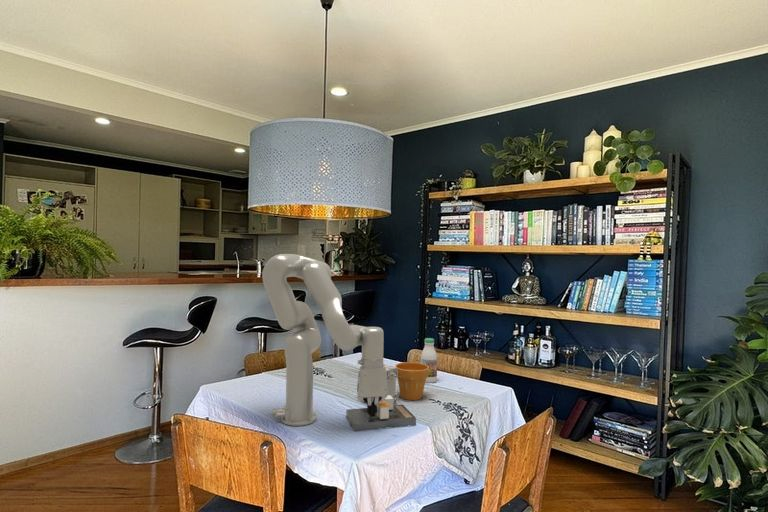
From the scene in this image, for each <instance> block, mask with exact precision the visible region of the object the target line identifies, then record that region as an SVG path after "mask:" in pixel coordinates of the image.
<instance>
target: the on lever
mask: <svg viewBox="0 0 768 512" xmlns="http://www.w3.org/2000/svg"><path fill="white" fill-rule="evenodd" d="M384 401H386V402H387V403H388V405H389V410H392V409H393V398H392V396H391V395H387V398H384V399H383V401H382V402H384Z"/></svg>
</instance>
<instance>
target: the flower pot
mask: <svg viewBox="0 0 768 512" xmlns="http://www.w3.org/2000/svg"><path fill="white" fill-rule="evenodd" d="M394 367H397V371H398V378H397V384H398V388H399V395H400V397H401V398H402V399H403V400H406V401H407V400H408V401H418V400H420V399H422V398H423V394H424V389H425V385H426V378H427V377H428V375H429V366H427V365H426V364H422V363H421V362H416V361H408V362H407V361H403V362H399V363H397V364H395V365H394ZM395 376H396V374H395Z"/></svg>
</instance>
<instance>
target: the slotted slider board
mask: <svg viewBox="0 0 768 512" xmlns="http://www.w3.org/2000/svg"><path fill="white" fill-rule="evenodd" d="M345 412H346V413H345V414H346V415H345V416H346V419H347V420H348V422H349V424H350V426H351V428H352V429H353V431H354V432H363V431H371V430H372V429H373V430H380V429H379V428H383V429H387V428H386V427H393V428H396V427H395V426H402V427H409V426H408V425H412V426H417V418H416V416H415V415H414V414H413V413H412V412H411V411H410V410H409V409H408V408H407V407H406V406H405V405H404V404H397V405H394V406H393V409H392V410H389V418H388V419H380V418H379V417H378V415H377V413H375V417H370V415H369V414H368V413H367V407H363V408H361V407H360V408H351V409H346V411H345Z"/></svg>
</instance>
